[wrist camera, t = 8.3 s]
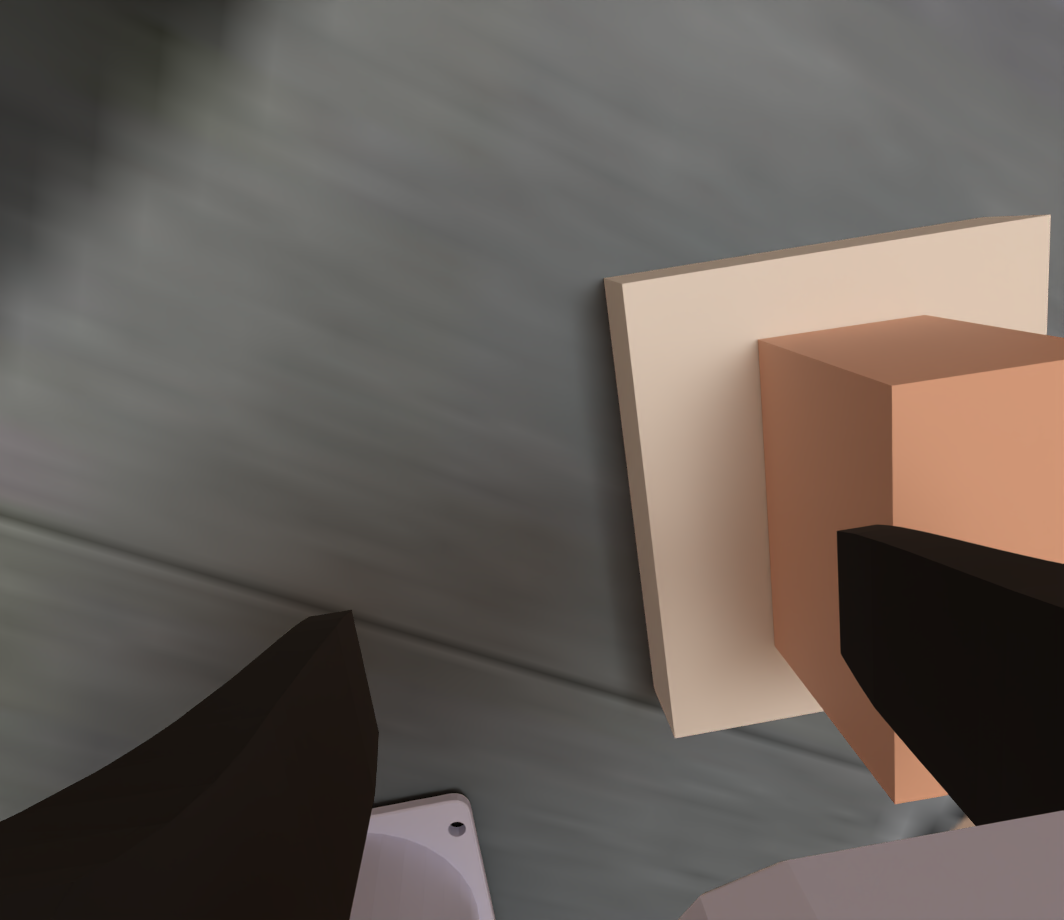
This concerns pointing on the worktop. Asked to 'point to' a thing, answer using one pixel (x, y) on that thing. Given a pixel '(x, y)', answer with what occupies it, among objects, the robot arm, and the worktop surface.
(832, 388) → the terracotta brick
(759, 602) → the base block
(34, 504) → the worktop surface
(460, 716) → the worktop surface
